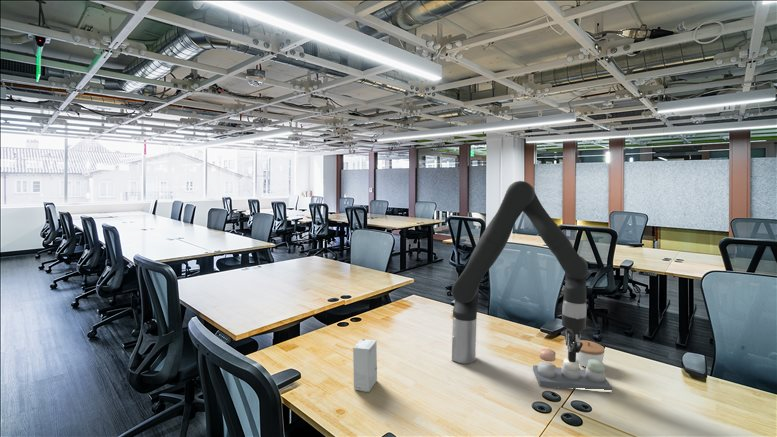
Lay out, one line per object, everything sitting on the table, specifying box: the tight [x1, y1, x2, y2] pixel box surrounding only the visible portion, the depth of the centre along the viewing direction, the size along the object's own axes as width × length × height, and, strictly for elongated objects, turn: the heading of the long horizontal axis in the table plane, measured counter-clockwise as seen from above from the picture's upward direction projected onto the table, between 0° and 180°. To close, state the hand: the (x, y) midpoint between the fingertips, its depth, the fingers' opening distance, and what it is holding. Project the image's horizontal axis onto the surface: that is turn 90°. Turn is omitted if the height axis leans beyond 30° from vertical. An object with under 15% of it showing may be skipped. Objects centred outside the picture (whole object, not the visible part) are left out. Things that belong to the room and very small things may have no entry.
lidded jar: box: [576, 339, 605, 368], centre depth 141 cm, size 11×11×9 cm
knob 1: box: [539, 348, 556, 363], centre depth 130 cm, size 5×5×2 cm
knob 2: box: [587, 359, 605, 373], centre depth 128 cm, size 5×5×2 cm
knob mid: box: [562, 357, 580, 371], centre depth 129 cm, size 5×5×2 cm
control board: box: [532, 361, 613, 391], centre depth 129 cm, size 23×11×5 cm, turn 80°
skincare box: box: [352, 338, 378, 393], centre depth 126 cm, size 8×6×15 cm
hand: (571, 361), depth 129 cm, fingers closed
